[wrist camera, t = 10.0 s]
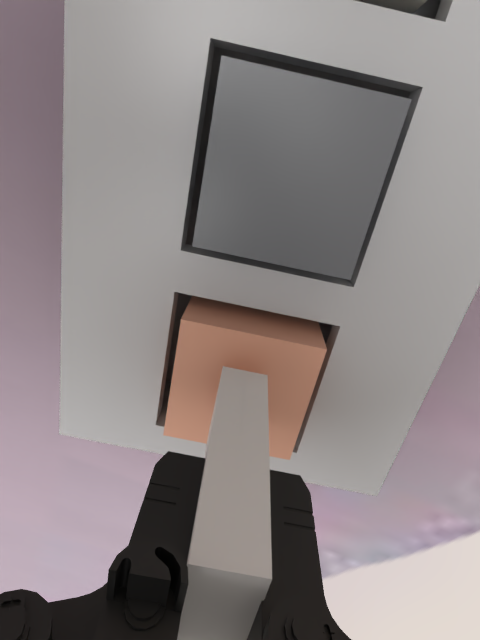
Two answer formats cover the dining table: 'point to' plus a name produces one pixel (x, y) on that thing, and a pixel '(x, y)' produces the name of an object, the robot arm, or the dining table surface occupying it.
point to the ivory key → (397, 4)
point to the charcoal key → (294, 167)
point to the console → (248, 274)
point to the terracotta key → (243, 367)
